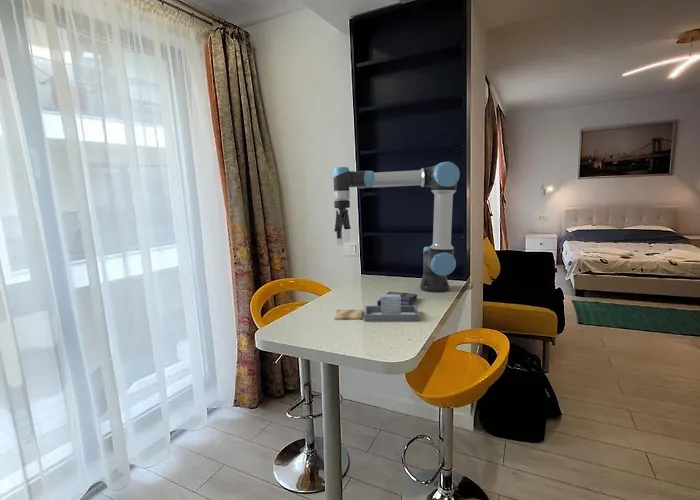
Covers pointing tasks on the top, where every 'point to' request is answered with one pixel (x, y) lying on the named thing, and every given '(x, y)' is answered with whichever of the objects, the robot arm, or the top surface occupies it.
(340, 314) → the pad
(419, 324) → the top surface
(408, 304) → the box
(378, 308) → the bin
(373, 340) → the top surface
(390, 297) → the medicine box
